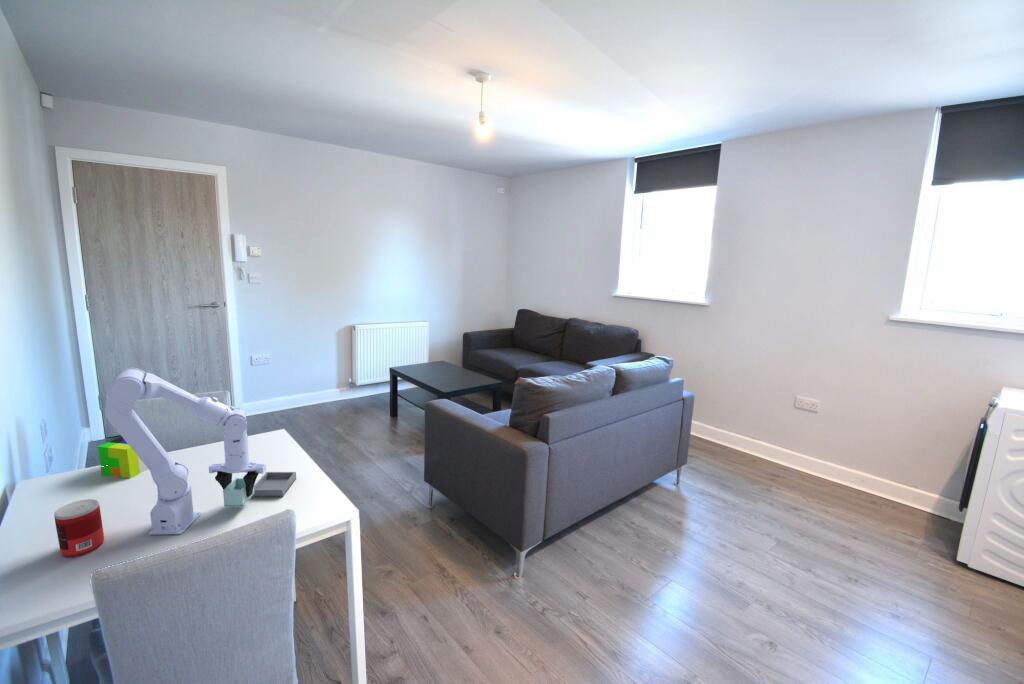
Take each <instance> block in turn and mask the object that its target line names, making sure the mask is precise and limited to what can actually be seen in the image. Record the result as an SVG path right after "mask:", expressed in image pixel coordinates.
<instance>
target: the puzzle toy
mask: <svg viewBox="0 0 1024 684" xmlns="http://www.w3.org/2000/svg"><path fill="white" fill-rule="evenodd" d="M97 449H98V455H99V457H98V458H99V465H100V470H101V476H104V477H105V476H106V477H113V478H123V479H132V478H135V477H137V476H138V475H140V474H142V473H144V472H146V471H147V470H149V469H148V468H147V466H146V465H145V464H144V463H143V462H142V460H141V459H140V458H139V457H138V456H137V454H136V453H135V452H134V451H133V449H132V448H131V447H130V446H129V445H128V443H127V442H126V441H125V440H124V439H123V437H122V436H120V437H118V438H115V439H112V440H111V441H108V442H106V443H105V442H104V444H100V445H98V446H97ZM106 465H108V466H106ZM101 466H104V467H101Z"/></svg>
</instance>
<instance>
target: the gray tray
mask: <svg viewBox="0 0 1024 684" xmlns="http://www.w3.org/2000/svg"><path fill="white" fill-rule="evenodd" d="M296 480H297V471H265V472H264V473H263V475H262V476H261V478H260V479H259V480H258V481H257V482H255V484H254V494H253V496H252V497H251V498H284V496H285V495H286V494H287V492H288V491H290V488H291V487H292V486H293V484H294V482H295V481H296ZM251 498H250V499H251Z"/></svg>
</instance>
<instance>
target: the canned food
mask: <svg viewBox="0 0 1024 684" xmlns="http://www.w3.org/2000/svg"><path fill="white" fill-rule="evenodd" d="M99 502H100V501H99V500H98V499H94V498H88V499H87V498H86V499H81V500H76V501H73V502H70V503H67V504H65V505H63V506H61V507H59V508H58V509H57V510H56V511H55V512H54V522H55V528H56V529H55V530H56V534H57V539H58V545H59V551H60V553H61V556H63V557H65V558H77V557H76V556H78V557H81V556H80V555H82V556H85V555H87V554H86V553H88V554H89V552H90V553H92V552H94V551H96V550H97V549H98V548H100V547H101V546H102V545H103V543H104V541H105V535H104V527H103V520H102V514H101V513H102V512H101V506H100V503H99ZM95 549H96V550H95ZM93 550H94V551H93ZM91 551H92V552H91ZM84 554H85V555H84Z"/></svg>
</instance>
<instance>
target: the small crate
mask: <svg viewBox="0 0 1024 684" xmlns="http://www.w3.org/2000/svg"><path fill="white" fill-rule="evenodd" d="M222 493H223V494H222V495H223V506H224V507H225V508H226V507H232V508H235V507H237V508H238V507H244V506H245V505H246V504H247V503H248V502H249V500H251V497H252V496H253V494H254V487H253V493H252V494H251V496H250V497H247V495H246V485H245V482H244V479H243V477H235V478H234V479H232V482H231V483H230V484H229V485H228V486H227V487H226V488H225V489H224V490H223V489H222Z"/></svg>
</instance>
